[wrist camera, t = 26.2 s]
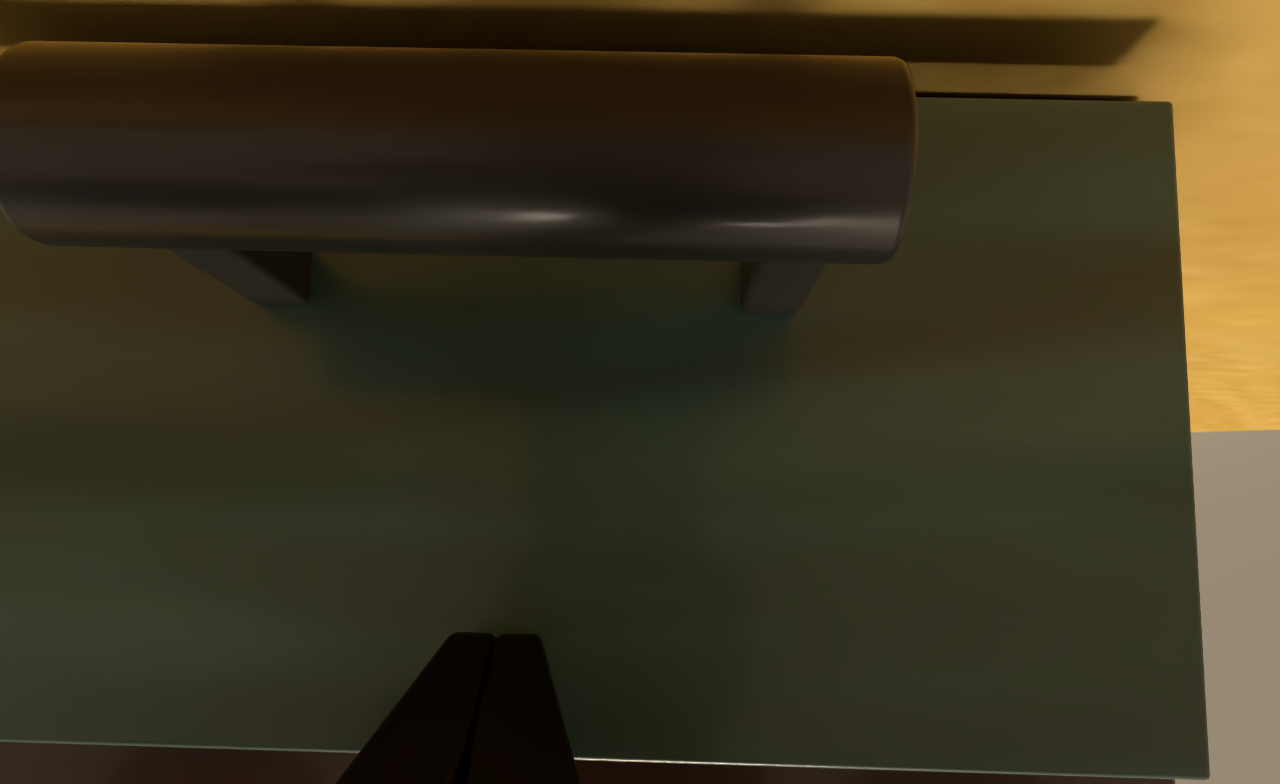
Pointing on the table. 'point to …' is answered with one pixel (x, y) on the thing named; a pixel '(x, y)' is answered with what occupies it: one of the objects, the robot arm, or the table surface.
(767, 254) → the drawer
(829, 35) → the table surface
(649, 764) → the cabinet
